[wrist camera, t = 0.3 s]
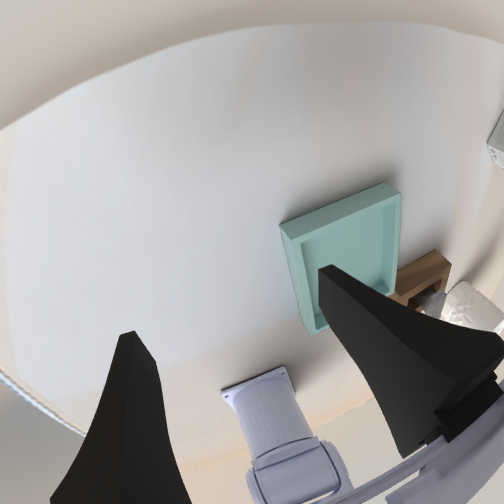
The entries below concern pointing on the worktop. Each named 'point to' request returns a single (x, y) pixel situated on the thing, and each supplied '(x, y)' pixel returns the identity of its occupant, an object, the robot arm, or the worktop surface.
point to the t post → (431, 301)
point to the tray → (344, 246)
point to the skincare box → (497, 143)
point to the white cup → (472, 309)
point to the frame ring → (421, 278)
